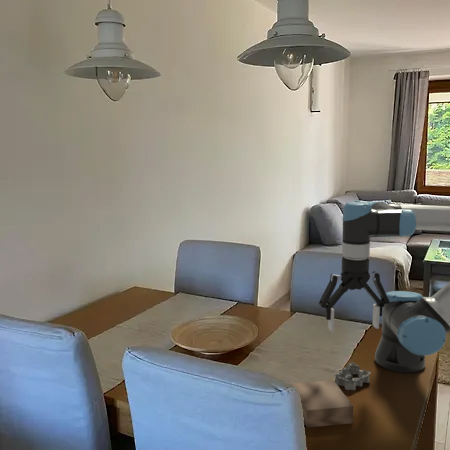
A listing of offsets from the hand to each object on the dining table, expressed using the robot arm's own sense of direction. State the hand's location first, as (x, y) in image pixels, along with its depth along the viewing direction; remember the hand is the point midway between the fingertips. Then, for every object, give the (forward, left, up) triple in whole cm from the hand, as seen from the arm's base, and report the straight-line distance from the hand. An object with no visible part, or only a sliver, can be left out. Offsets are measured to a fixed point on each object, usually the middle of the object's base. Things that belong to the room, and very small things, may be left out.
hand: (353, 328), depth 146 cm
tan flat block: (+14, +14, -17) cm, 26 cm away
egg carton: (0, 0, -17) cm, 17 cm away
